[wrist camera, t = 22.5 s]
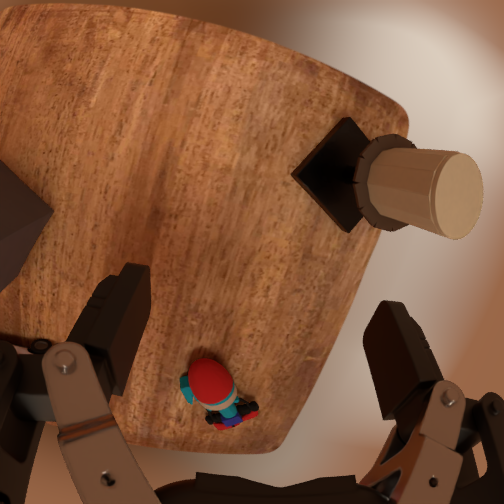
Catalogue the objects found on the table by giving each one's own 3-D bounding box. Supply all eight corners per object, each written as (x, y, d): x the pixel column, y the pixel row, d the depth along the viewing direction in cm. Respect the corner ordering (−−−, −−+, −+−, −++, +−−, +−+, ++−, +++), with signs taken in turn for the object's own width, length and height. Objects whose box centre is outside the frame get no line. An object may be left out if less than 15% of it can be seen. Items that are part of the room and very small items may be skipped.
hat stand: (290, 174, 31) (391, 194, 16) (343, 117, 31) (457, 105, 16) (342, 230, 34) (445, 281, 20) (387, 175, 34) (497, 196, 19)
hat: (335, 182, 23) (402, 196, 16) (392, 115, 23) (462, 111, 15) (388, 248, 26) (451, 279, 19) (435, 184, 26) (500, 198, 19)
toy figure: (260, 402, 41) (225, 337, 33) (268, 430, 37) (234, 370, 29) (211, 418, 41) (163, 358, 33) (216, 446, 36) (165, 391, 29)
